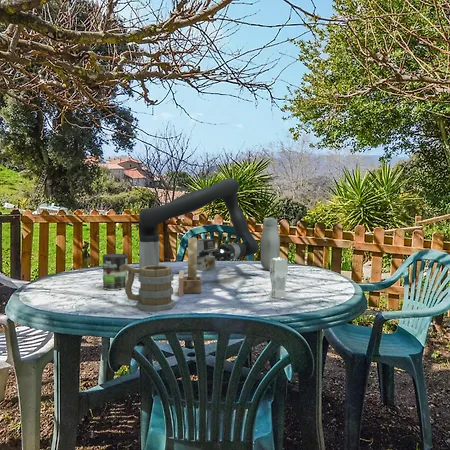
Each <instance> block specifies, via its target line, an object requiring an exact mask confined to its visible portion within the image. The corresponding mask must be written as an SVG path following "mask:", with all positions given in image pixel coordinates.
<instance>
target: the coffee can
mask: <svg viewBox="0 0 450 450" xmlns="http://www.w3.org/2000/svg"><path fill="white" fill-rule="evenodd" d="M124 264H128V254H125V253H108V254H103V255H102V278H103V279H102V280H103V281H102V283H103V284H102V289H103V290H104V289H107V290H106V291H110V290H116V291H120V290H119V289H124V290H125V285H126V282H127V280H128V271H127V270H125V269H124V270H123V271H121V270H120V269H119V267H120V266H122V265H124Z"/></svg>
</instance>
